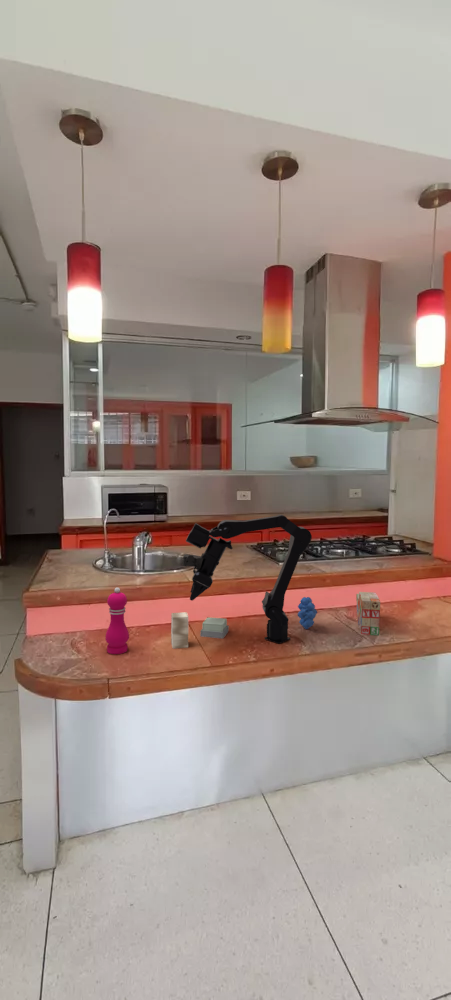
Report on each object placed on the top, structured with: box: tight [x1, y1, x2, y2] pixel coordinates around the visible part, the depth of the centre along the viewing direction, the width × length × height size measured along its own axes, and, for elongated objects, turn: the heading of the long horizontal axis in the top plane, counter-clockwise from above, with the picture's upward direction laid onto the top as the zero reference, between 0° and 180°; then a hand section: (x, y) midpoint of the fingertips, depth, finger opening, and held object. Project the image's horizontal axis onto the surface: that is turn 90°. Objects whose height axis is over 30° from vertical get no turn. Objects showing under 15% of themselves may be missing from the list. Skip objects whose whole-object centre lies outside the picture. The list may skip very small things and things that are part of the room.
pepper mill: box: [104, 587, 130, 655], centre depth 146 cm, size 7×7×20 cm
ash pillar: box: [170, 611, 189, 649], centre depth 151 cm, size 5×5×10 cm
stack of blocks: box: [355, 591, 381, 636], centre depth 173 cm, size 21×6×12 cm, turn 169°
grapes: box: [297, 596, 318, 630], centre depth 169 cm, size 12×7×12 cm, turn 15°
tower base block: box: [199, 625, 230, 639], centre depth 163 cm, size 8×8×2 cm
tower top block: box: [201, 617, 228, 632], centre depth 163 cm, size 7×7×2 cm
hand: (191, 596), depth 155 cm, fingers open, 9 cm apart
